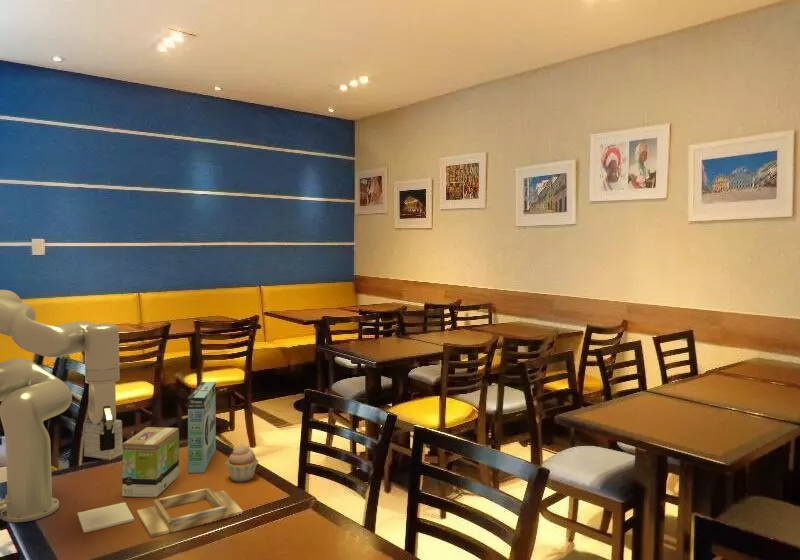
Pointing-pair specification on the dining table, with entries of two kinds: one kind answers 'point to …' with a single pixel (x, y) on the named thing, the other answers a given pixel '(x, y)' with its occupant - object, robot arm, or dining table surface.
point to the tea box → (150, 461)
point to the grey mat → (105, 517)
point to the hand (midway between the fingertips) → (104, 443)
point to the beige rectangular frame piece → (162, 524)
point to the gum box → (201, 427)
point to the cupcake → (242, 464)
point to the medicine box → (93, 441)
